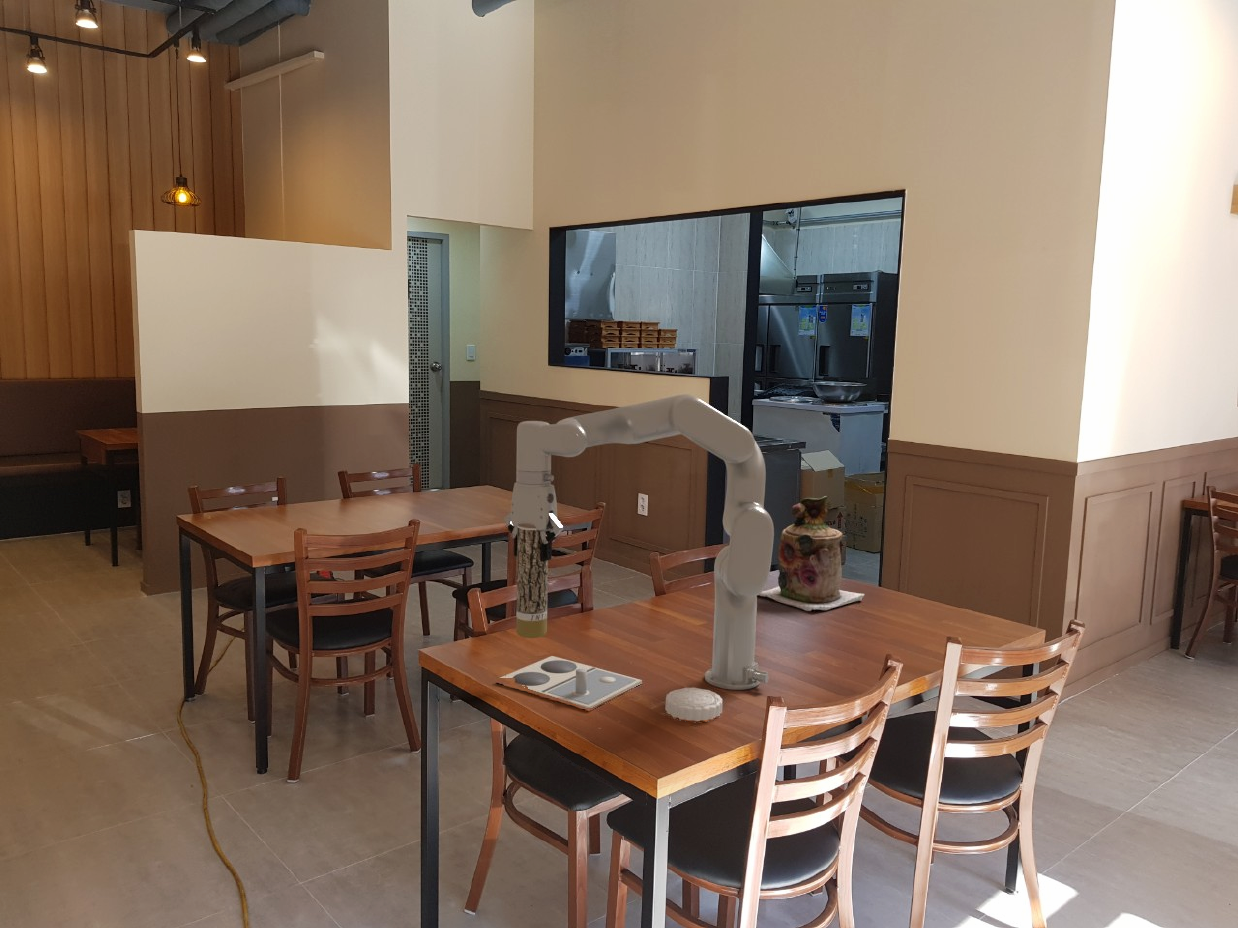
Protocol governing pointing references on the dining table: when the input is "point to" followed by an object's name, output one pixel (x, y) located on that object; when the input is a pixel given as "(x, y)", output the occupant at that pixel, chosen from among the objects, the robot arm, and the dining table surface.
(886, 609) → the dining table surface
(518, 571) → the paper tube
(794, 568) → the cookie jar
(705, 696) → the mooncake
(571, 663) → the board
